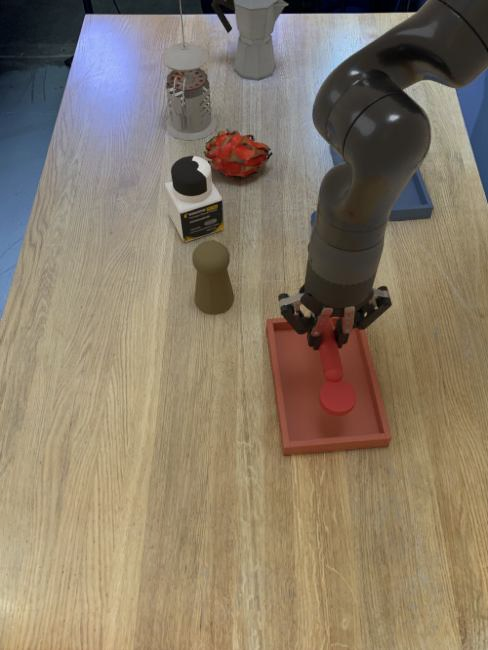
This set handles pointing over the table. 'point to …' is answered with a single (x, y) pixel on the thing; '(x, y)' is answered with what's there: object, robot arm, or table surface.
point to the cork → (212, 278)
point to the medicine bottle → (194, 199)
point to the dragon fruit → (236, 154)
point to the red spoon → (334, 376)
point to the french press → (188, 91)
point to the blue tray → (406, 197)
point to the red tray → (304, 388)
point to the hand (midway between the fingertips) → (326, 343)
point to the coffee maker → (253, 34)
